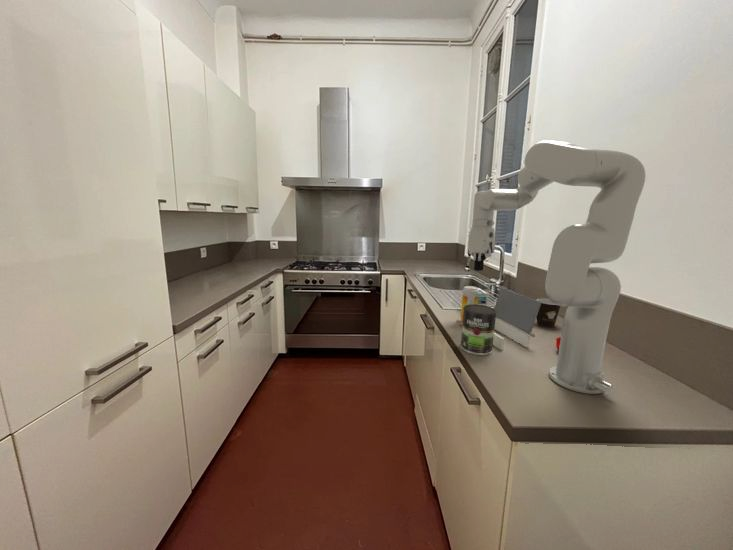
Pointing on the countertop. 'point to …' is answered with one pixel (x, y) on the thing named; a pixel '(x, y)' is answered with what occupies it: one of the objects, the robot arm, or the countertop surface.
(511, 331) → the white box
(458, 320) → the coaster
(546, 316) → the coffee mug
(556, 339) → the apple
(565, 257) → the robot arm
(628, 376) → the countertop surface
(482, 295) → the light bulb box
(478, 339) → the coffee can
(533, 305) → the cover
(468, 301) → the beer can
